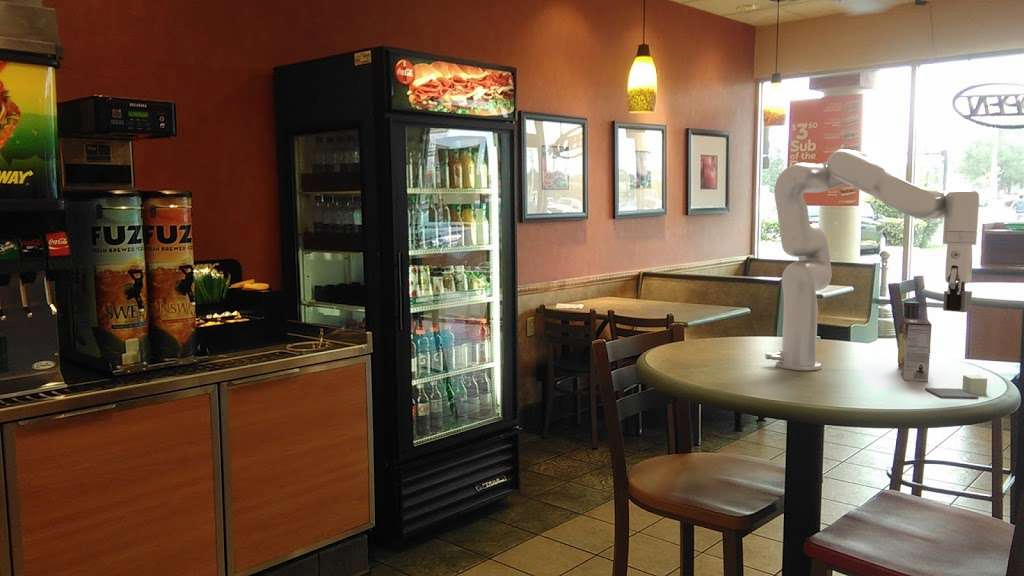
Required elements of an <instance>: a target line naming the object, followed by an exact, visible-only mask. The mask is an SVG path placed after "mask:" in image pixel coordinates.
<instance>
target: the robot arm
mask: <svg viewBox="0 0 1024 576" xmlns="http://www.w3.org/2000/svg"><path fill="white" fill-rule="evenodd" d="M845 185H849V186H850V187H852V188H854V189H858V190H860V191H862V192H863V193H866V194H868V195H869V196H871V197H873V198H875V199H876V200H878V201H880V202H882V203H883V204H885V205H887V206H889V207H891V208H892V209H895V210H897V211H899V212H901V213H904V214H906V215H908V216H910V217H913V218H915V219H922V220H923V219H929V220H930V219H942V218H943V231H942V244H943V245H947V246H946V247H947V248H946V257H945V258H946V259H945V270H944V271H945V275H944V277H945V282H947V283H948V284H947V286H948V287H947V291H948V294H947V302H946V309H947V310H956V311H959V310H960V309H961V295H960V291H966V284H968V283H970V282H971V281H972V278H973V277H972V276H973V275H972V274H973V269H972V268H973V245H974V246H976V245H977V239H978V238H977V237H978V222H979V221H978V219H979V206H980V205H979V204H980V194H979V193H978V192H977V191H976V190H972V189H971V190H968V189H967V190H966V189H963V190H962V189H958V190H955V189H954V190H949V191H946V190H938V189H929V188H928V189H926V188H923V187H920V186H919V185H915V184H913V183H910V181H907V180H904V179H902V178H901V177H899V176H897V175H896V174H895V173H894V171H893V169H891V168H890V167H888V166H886V165H884V164H882V163H879V162H877V161H874V160H873V159H870V158H868V157H867V155H866V154H865V153H863V152H861V151H858V150H852V149H847V148H846V149H843V148H842V149H838V150H836V151H834V152H832V153H831V154H830V155H829V156H828V158H827V160H826V161H824V162H820V163H811V162H810V163H809V162H798V163H794V164H791V165H789V166H788V167H786V168H785V169H783V171H782V172H781V173H780V174H779V175H778V177H777V178H776V182H775V185H774V191H773V193H774V199H775V200H774V202H775V206H776V214H777V221H778V227H779V233H780V241H781V242H780V243H781V246H782V250H783V252H785V254H787V255H789V256H791V257H798V260H797V261H794V262H791V263H790V264H789V265H787V266H786V267H785V269H784V270H783V273H782V275H781V285H782V294H783V295H782V296H783V317H782V319H783V320H782V321H783V322H782V344H781V347H782V348H781V349H779V350H778V352H777V351H776V353H774V352H765V354H764V355H765V356H764V357H765V360H772V361H776V362H775V365H776V366H777V367H778V368H781V369H786V370H794V371H817V370H820V369H822V364H821V363H820V362H817V361H816V360H817V338H818V337H817V336H818V319H819V317H818V316H819V315H818V314H819V313H818V312H819V311H818V310H819V306H818V305H819V304H818V298H817V292H819V291H823V290H825V288H827V287H828V286H829V284H830V283H831V280H832V278H833V277H832V274H833V271H832V263H831V257H830V251H829V250H830V249H829V244H828V238H827V236H826V234H825V232H824V230H822V228H821V227H819V226H818V225H816V224H811V222H810V217H809V209H808V206H807V203H806V201H805V198H804V194H805V193H811V194H812V193H813V194H817V193H818V194H819V193H823V192H828V191H831V190H833V189H835V188H836V189H837V188H839V187H842V186H845Z"/></svg>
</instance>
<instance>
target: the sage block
mask: <svg viewBox="0 0 1024 576" xmlns="http://www.w3.org/2000/svg"><path fill="white" fill-rule="evenodd" d="M987 387H988V378H986V377H983V376H981V375H975V374H974V375H973V374H972V375H969V374H968V375H967V374H963V375H962V388H961V389H962V390H964V391H967V392H969V393H971V394H973V395H976V394H977V395H980V394H983V395H986V394H987V391H988V390H987V389H988V388H987Z"/></svg>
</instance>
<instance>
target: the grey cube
mask: <svg viewBox="0 0 1024 576" xmlns="http://www.w3.org/2000/svg"><path fill="white" fill-rule="evenodd" d="M947 294H948V290H944V291H943V306H942V310H943V311H947V312H957V313H967V312H971V311H972V297H973V296H972V295H973V290H972V291H971V290H965V291H960V295H961V309H960V310H959V311H956V310H947V309H946V302H947Z"/></svg>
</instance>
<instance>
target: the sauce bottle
mask: <svg viewBox="0 0 1024 576" xmlns="http://www.w3.org/2000/svg"><path fill="white" fill-rule="evenodd" d="M919 307H920V302H918V301H903V308H904V309H903V310H904V311H903V312H904V313H903V319H919V320H920V317H919ZM903 319H902V320H901V321H900V323H899V329H898V341H897V342H898V343H897V344H898V345H897V363H898V364H897V366H898V369H900V370H901V358H902V339H903V321H904V320H903Z"/></svg>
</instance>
